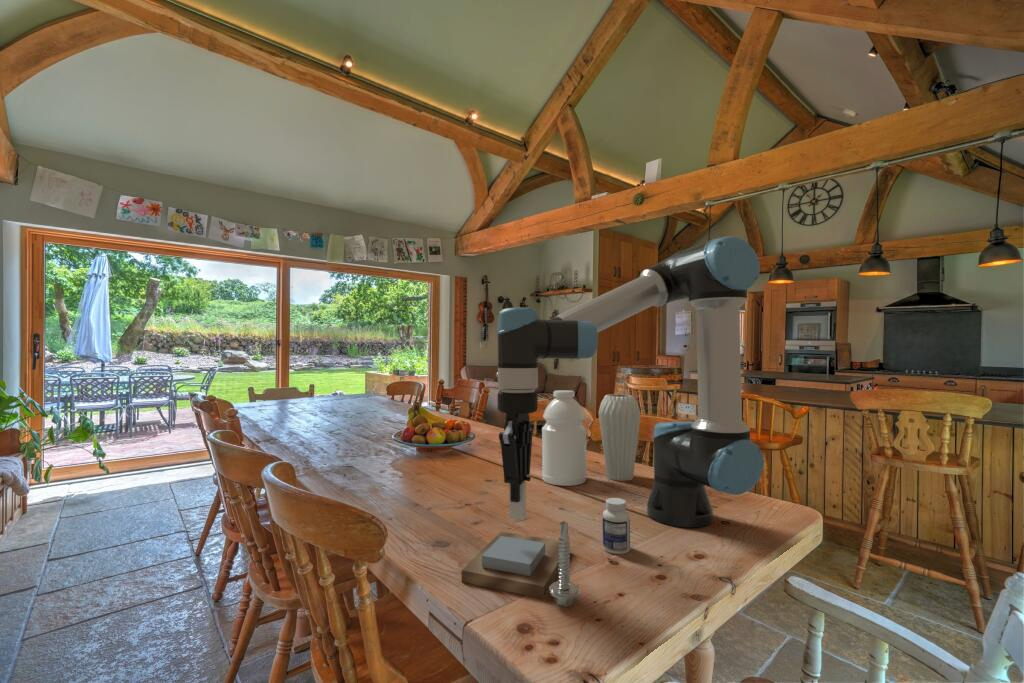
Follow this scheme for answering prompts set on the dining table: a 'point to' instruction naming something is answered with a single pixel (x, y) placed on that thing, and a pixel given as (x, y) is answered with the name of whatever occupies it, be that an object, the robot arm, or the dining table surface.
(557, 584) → the screw
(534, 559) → the tile
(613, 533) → the pill bottle
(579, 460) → the bottle
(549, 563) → the board
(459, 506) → the dining table surface
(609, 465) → the vase
